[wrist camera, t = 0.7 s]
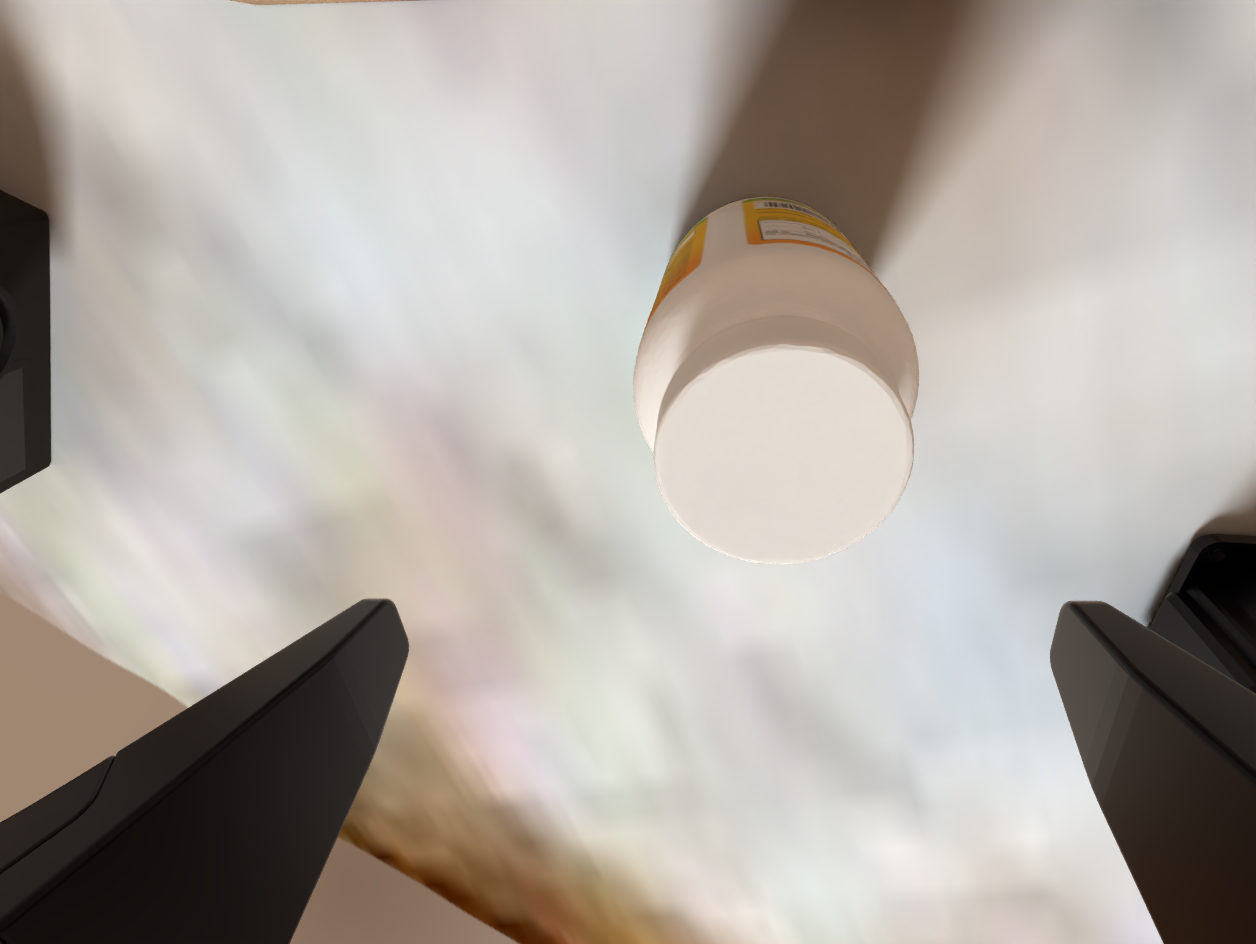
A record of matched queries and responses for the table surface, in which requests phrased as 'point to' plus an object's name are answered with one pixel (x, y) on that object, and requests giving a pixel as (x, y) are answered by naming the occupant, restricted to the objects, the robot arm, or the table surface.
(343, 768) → the robot arm
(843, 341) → the supplement bottle
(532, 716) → the table surface
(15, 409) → the digital camera
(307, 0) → the bottle rack
